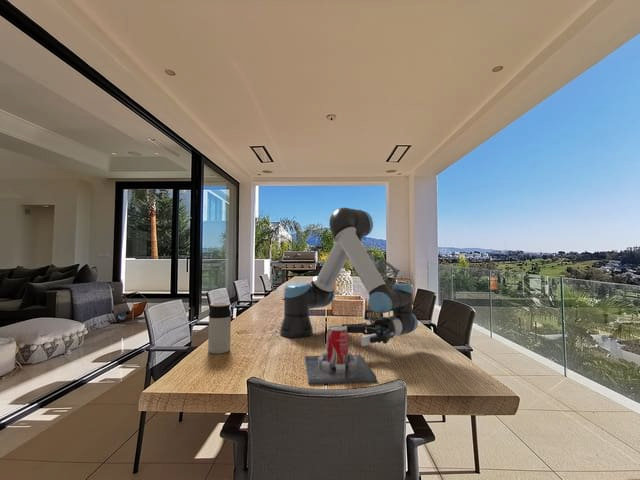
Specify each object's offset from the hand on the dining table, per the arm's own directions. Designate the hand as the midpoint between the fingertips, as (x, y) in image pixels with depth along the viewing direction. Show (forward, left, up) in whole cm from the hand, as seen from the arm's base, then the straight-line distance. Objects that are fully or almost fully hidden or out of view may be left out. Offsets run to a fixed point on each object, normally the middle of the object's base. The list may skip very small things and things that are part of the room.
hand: (346, 336), depth 105 cm
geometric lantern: (+27, +50, -10) cm, 57 cm away
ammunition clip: (+30, +75, -10) cm, 81 cm away
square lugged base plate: (-3, -2, -10) cm, 11 cm away
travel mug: (-45, +21, -10) cm, 51 cm away
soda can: (-3, -2, -9) cm, 10 cm away
